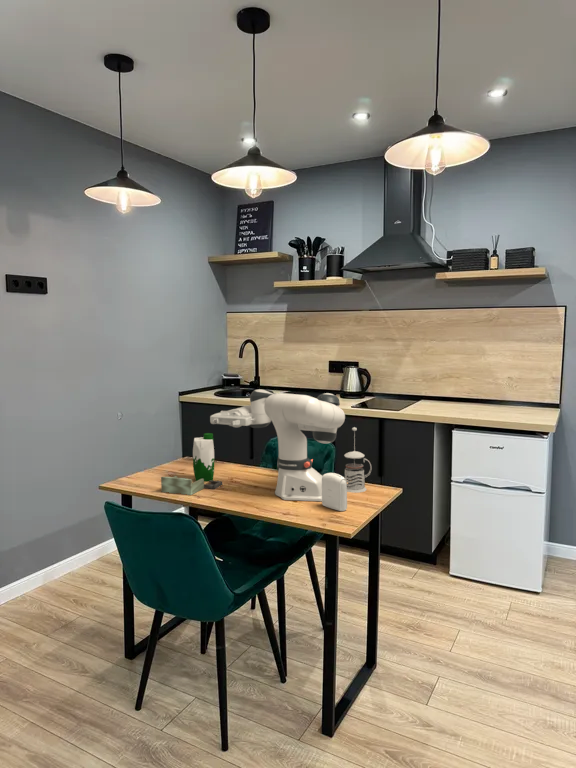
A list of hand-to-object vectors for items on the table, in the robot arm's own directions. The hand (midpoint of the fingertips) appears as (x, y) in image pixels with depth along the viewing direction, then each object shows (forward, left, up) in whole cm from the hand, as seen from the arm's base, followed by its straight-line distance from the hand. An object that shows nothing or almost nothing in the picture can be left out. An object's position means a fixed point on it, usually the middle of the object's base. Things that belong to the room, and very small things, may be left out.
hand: (222, 422), depth 241 cm
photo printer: (-62, +35, -23) cm, 75 cm away
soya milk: (+1, +16, -23) cm, 28 cm away
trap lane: (+1, +30, -22) cm, 37 cm away
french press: (-64, +9, -23) cm, 69 cm away
